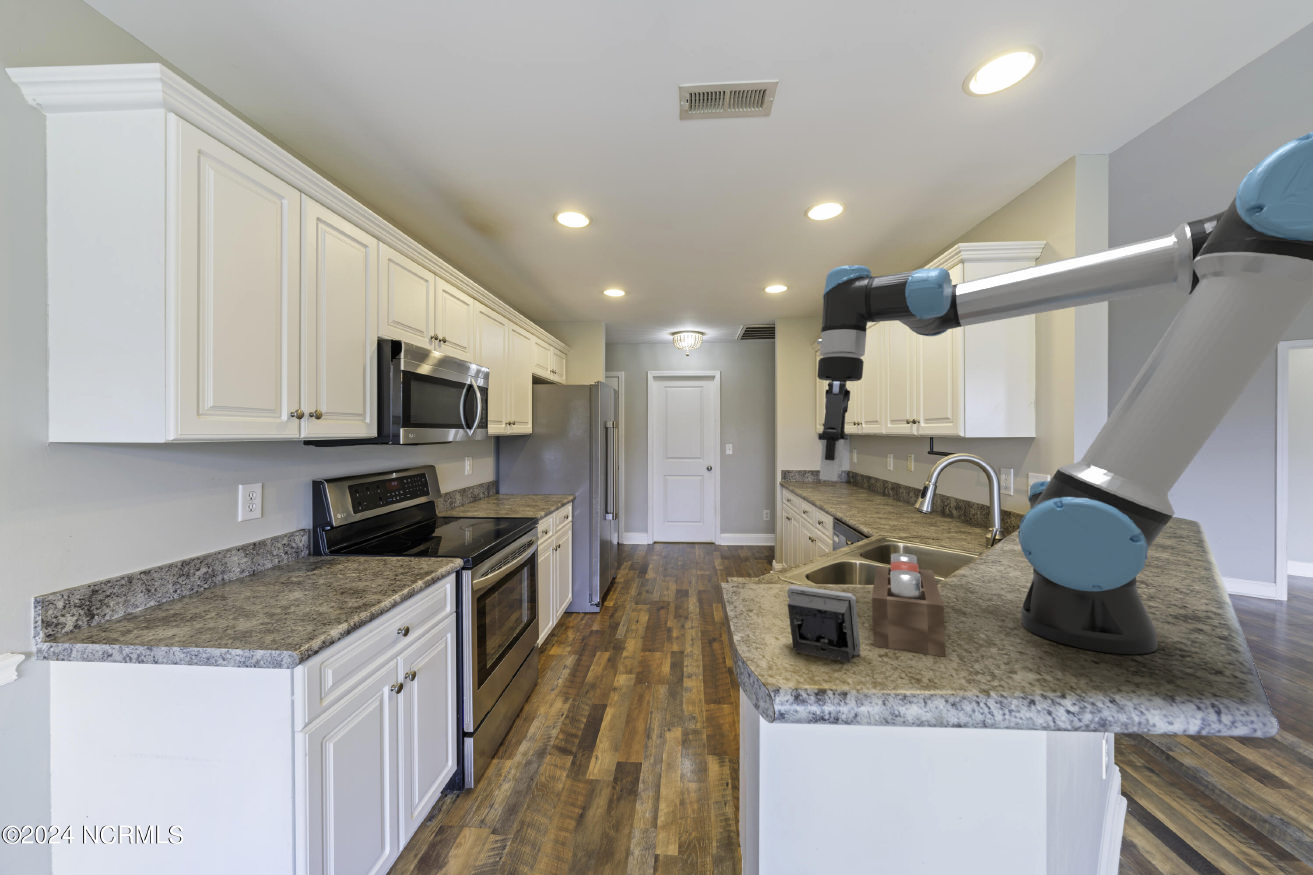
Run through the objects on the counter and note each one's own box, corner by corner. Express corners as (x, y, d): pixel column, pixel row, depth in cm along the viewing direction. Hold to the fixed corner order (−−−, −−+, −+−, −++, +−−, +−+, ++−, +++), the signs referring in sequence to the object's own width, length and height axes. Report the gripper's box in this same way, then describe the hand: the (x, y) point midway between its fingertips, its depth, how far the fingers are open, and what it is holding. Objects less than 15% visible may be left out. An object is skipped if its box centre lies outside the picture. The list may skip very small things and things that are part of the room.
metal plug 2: (921, 611, 71) (919, 571, 71) (922, 620, 67) (921, 578, 67) (891, 607, 73) (890, 569, 73) (891, 616, 69) (890, 575, 69)
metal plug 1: (917, 588, 82) (916, 554, 83) (918, 594, 79) (917, 559, 79) (892, 586, 84) (890, 552, 84) (892, 592, 81) (890, 557, 81)
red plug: (919, 599, 77) (917, 562, 77) (920, 606, 73) (919, 567, 73) (891, 596, 78) (890, 560, 79) (891, 603, 75) (890, 565, 75)
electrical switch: (861, 654, 66) (858, 589, 65) (855, 672, 61) (851, 603, 61) (795, 641, 71) (791, 580, 70) (784, 657, 66) (780, 593, 66)
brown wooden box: (934, 609, 83) (932, 570, 83) (945, 656, 64) (943, 605, 64) (877, 603, 87) (876, 565, 87) (873, 645, 68) (871, 597, 68)
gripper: (824, 366, 96) (816, 468, 97) (811, 346, 73) (800, 480, 74) (864, 366, 93) (855, 472, 94) (863, 346, 70) (851, 486, 71)
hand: (831, 476), depth 84 cm, fingers open, 13 cm apart
